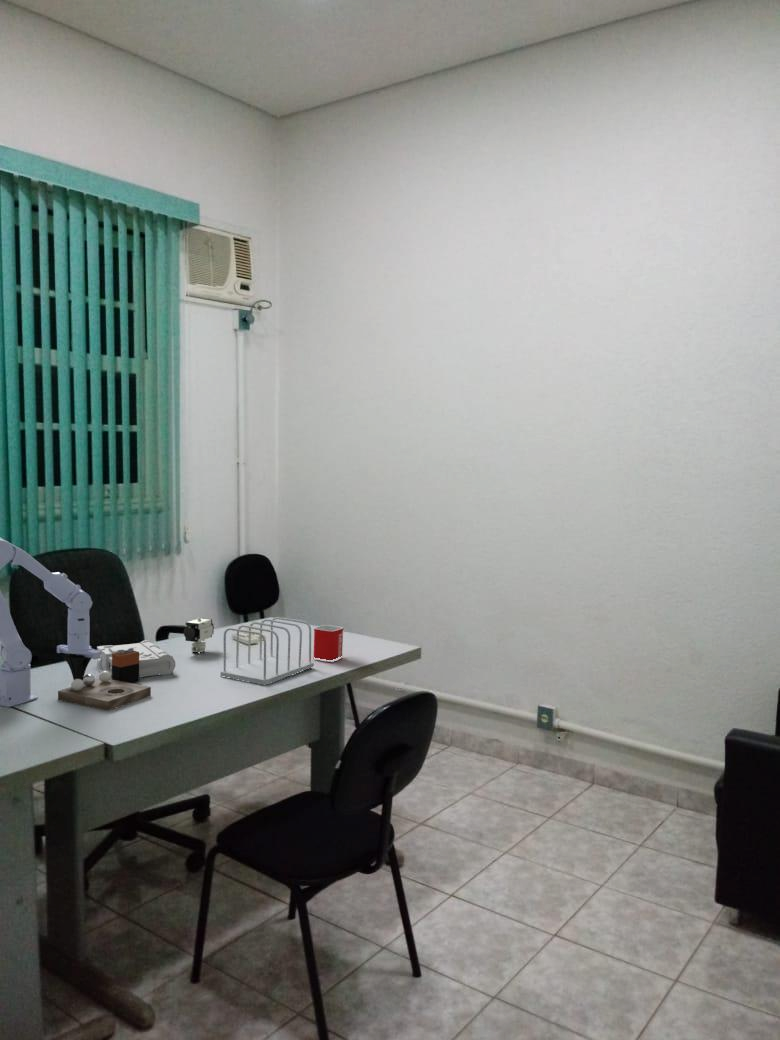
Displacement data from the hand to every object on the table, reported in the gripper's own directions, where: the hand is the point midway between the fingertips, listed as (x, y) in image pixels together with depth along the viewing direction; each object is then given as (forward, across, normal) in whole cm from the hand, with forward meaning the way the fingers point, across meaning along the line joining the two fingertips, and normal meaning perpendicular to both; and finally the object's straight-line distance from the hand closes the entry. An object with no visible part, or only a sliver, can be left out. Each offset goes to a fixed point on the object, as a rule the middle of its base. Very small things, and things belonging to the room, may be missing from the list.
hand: (78, 681), depth 232 cm
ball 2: (-1, -5, -5) cm, 7 cm away
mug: (+4, -39, -73) cm, 83 cm away
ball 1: (-1, -5, +5) cm, 7 cm away
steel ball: (-1, -4, 0) cm, 4 cm away
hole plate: (+3, -10, 0) cm, 10 cm away
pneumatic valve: (+3, +2, -55) cm, 55 cm away
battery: (+3, -4, -14) cm, 15 cm away
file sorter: (+4, -32, -46) cm, 56 cm away
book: (+4, +7, -28) cm, 30 cm away
